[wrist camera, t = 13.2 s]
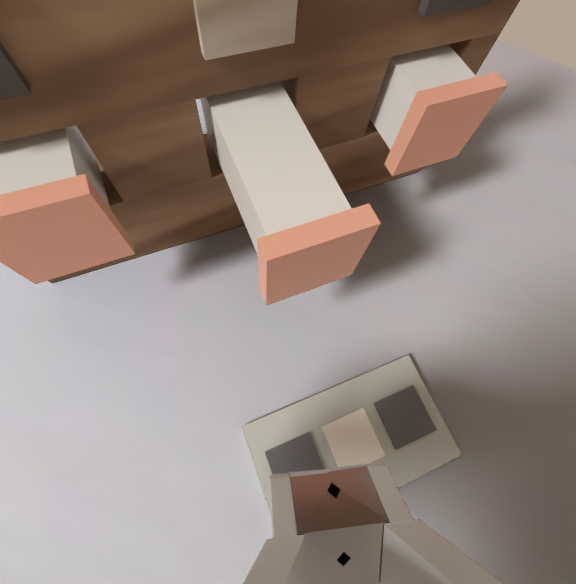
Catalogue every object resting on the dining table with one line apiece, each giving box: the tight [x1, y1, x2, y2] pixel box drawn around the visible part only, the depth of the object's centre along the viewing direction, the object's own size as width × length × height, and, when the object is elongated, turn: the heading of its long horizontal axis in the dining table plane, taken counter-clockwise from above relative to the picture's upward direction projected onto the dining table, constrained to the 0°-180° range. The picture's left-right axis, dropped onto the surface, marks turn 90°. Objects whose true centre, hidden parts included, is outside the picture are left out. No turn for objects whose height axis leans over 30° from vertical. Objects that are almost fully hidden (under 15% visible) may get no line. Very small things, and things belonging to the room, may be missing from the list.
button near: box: [0, 126, 135, 284], centre depth 13 cm, size 9×4×4 cm, turn 22°
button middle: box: [201, 81, 381, 306], centre depth 13 cm, size 9×4×4 cm, turn 22°
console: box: [0, 0, 520, 283], centre depth 14 cm, size 6×23×14 cm, turn 112°
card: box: [242, 355, 462, 513], centre depth 15 cm, size 5×9×1 cm, turn 112°
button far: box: [370, 44, 508, 176], centre depth 16 cm, size 9×4×4 cm, turn 22°
